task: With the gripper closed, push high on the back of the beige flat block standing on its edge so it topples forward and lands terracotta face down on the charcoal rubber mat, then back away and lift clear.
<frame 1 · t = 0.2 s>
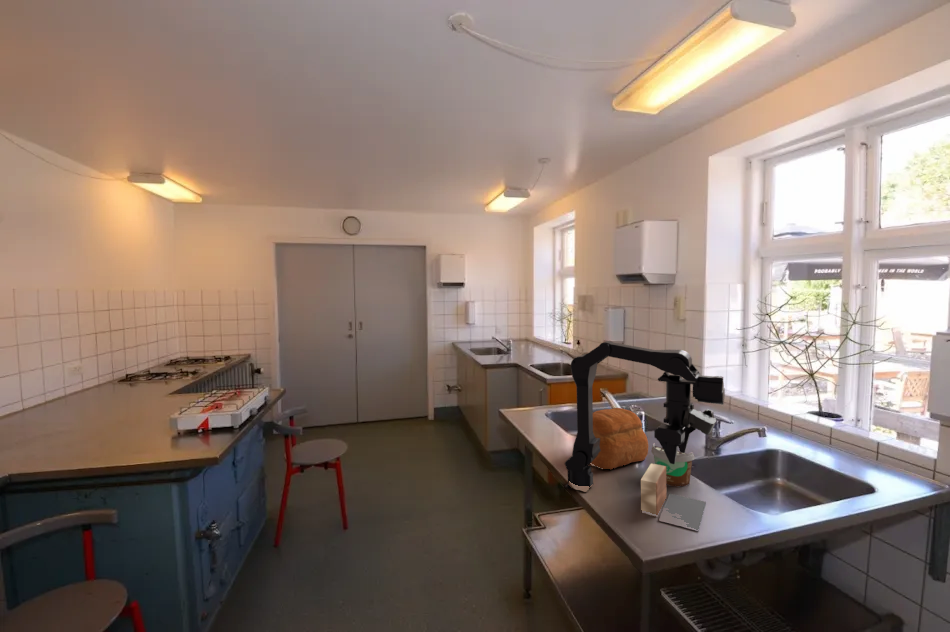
hand: (677, 457, 109), 14 cm above the counter, tool pointing down, fingers open, 9 cm apart
bread: (611, 459, 144), on the counter
beige flat block: (654, 505, 113), on the counter
food container: (669, 483, 126), on the counter
rubber mat: (682, 511, 109), on the counter
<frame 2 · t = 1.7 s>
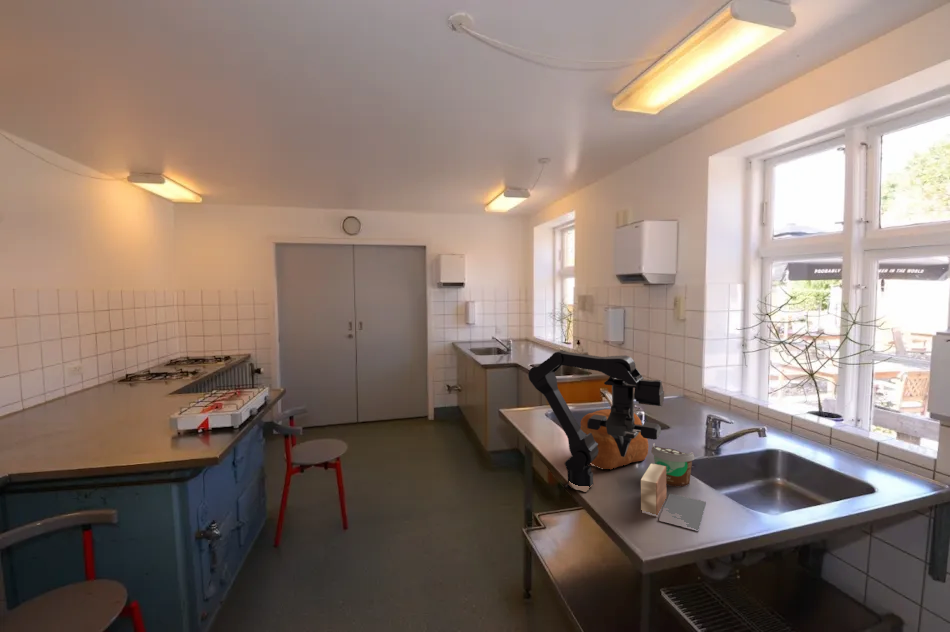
hand: (623, 456, 117), 12 cm above the counter, tool pointing down, fingers closed
nothing on the counter moved.
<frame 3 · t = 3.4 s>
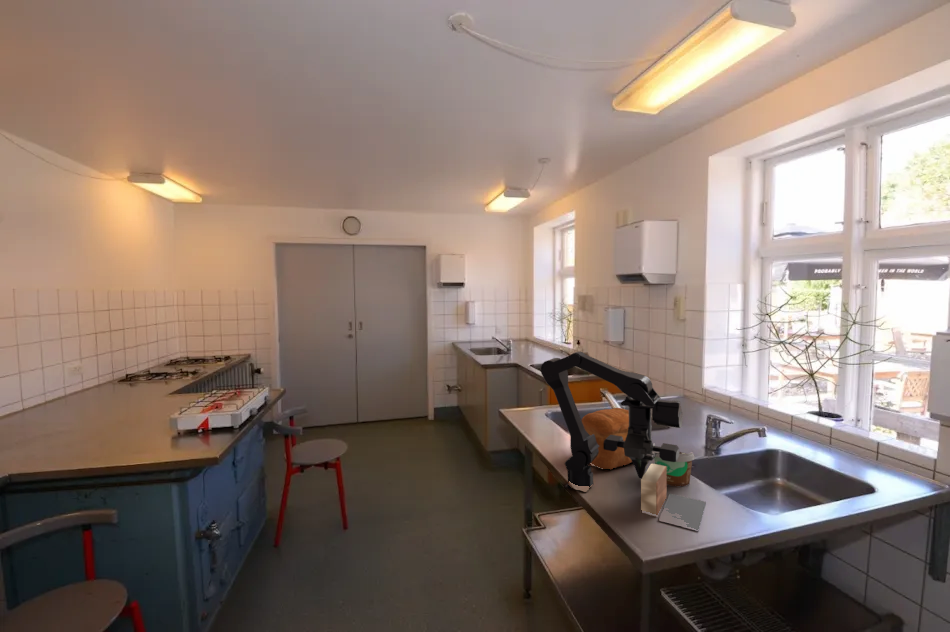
hand: (640, 478, 115), 7 cm above the counter, tool pointing down, fingers closed
beige flat block: (654, 505, 113), on the counter, touching gripper
everything else where it was.
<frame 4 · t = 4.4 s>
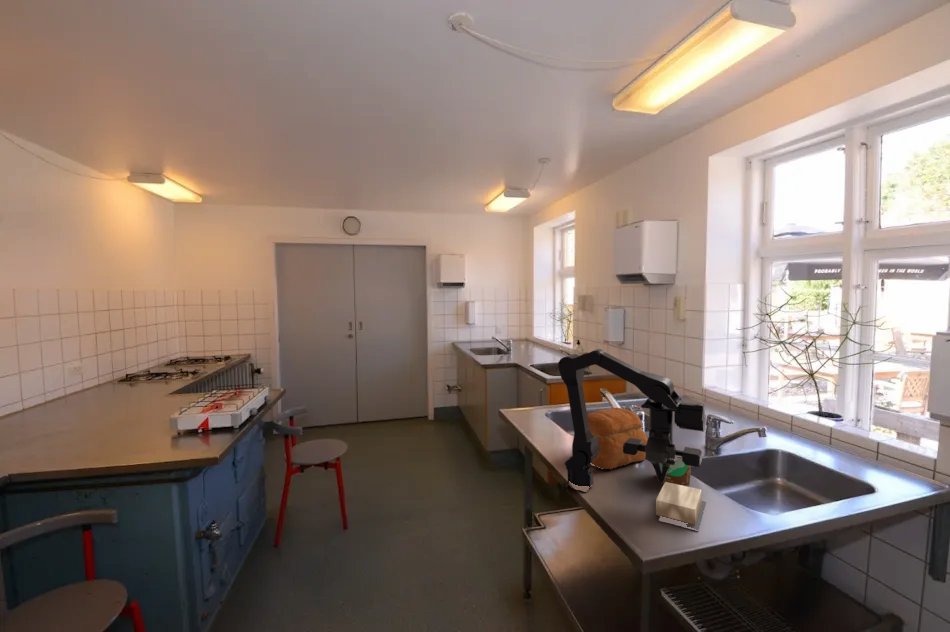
hand: (661, 482, 112), 7 cm above the counter, tool pointing down, fingers closed
beige flat block: (660, 497, 112), point 2 cm above the counter, tilted 90°, touching rubber mat
everything else where it was.
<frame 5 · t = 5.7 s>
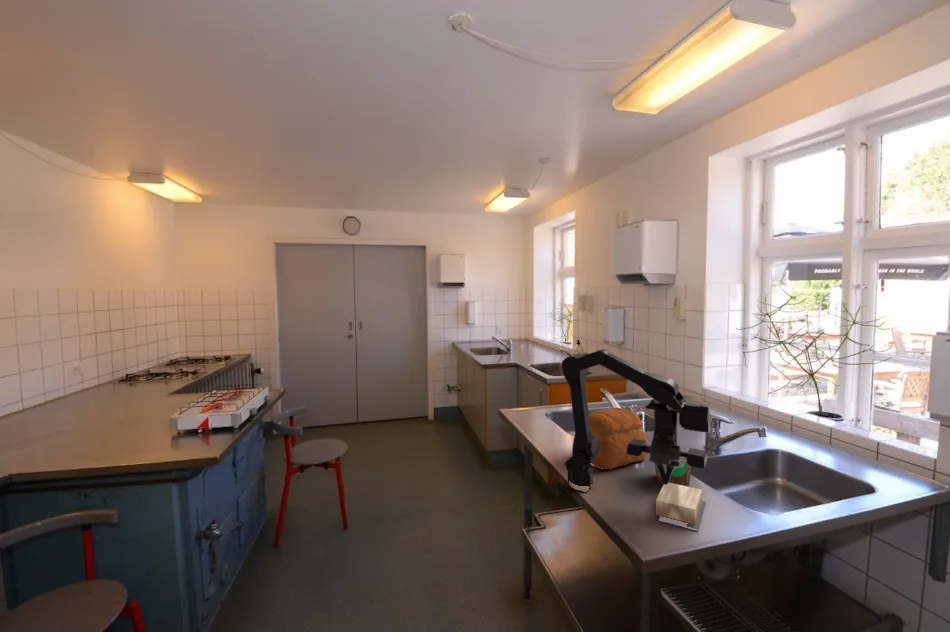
hand: (665, 484, 111), 6 cm above the counter, tool pointing down, fingers closed
nothing on the counter moved.
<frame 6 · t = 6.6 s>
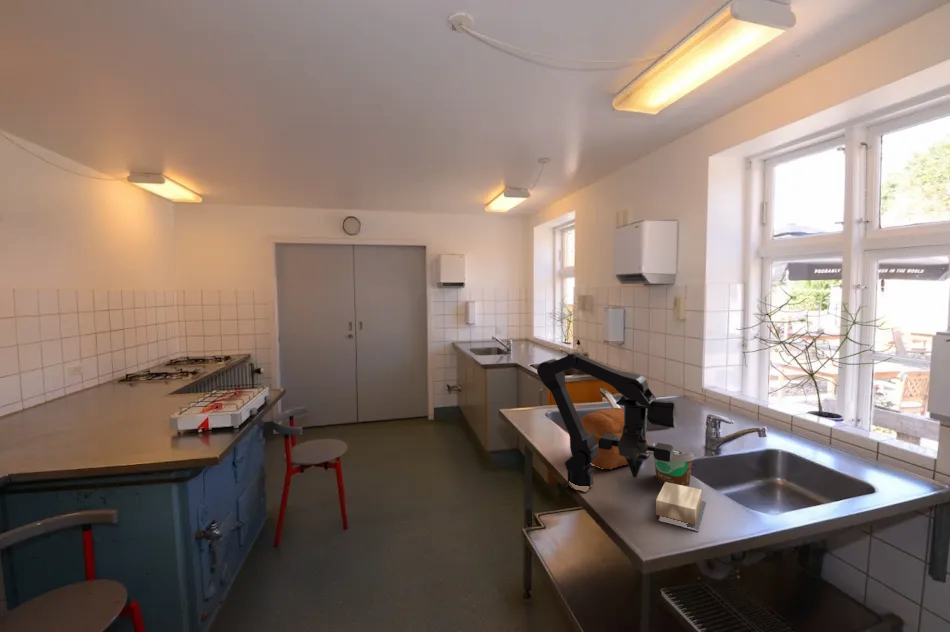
hand: (635, 476, 116), 7 cm above the counter, tool pointing down, fingers closed
nothing on the counter moved.
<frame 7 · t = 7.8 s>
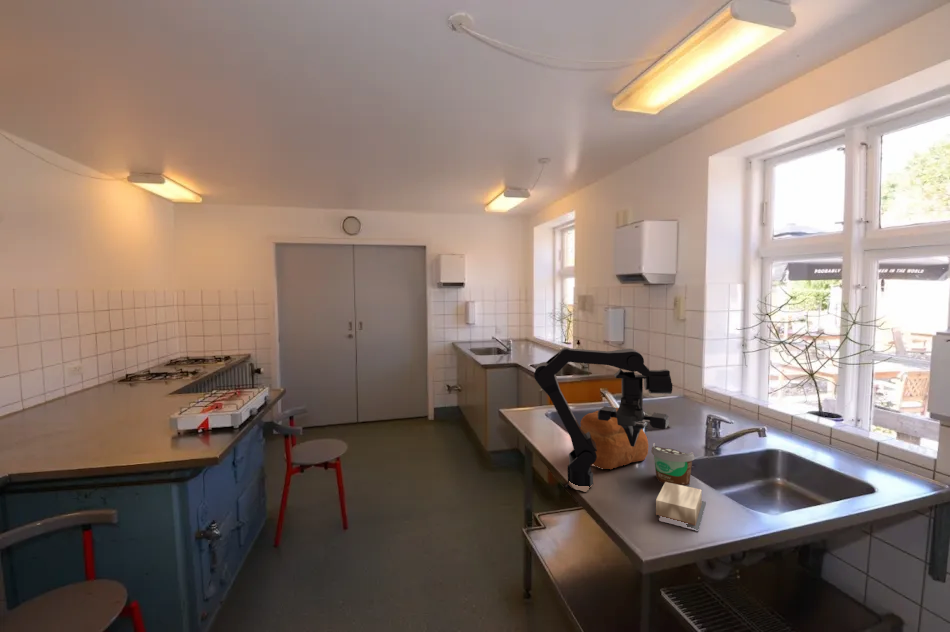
hand: (632, 446, 121), 13 cm above the counter, tool pointing down, fingers closed
nothing on the counter moved.
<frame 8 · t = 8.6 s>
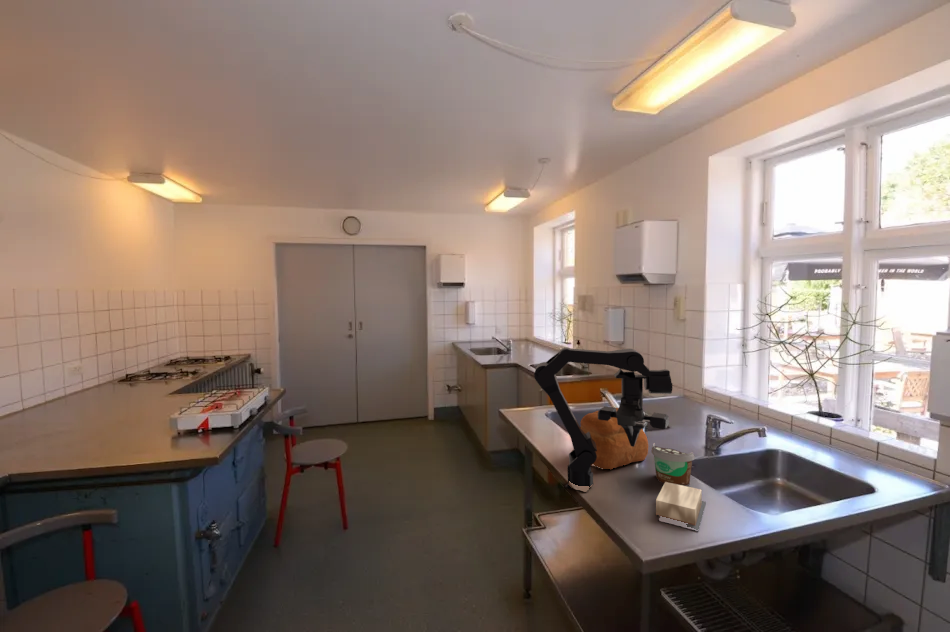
hand: (632, 446, 121), 13 cm above the counter, tool pointing down, fingers closed
nothing on the counter moved.
at the end: beige flat block tilted 90°; beige flat block inside the target area (3.8 cm from its centre), point 2.4 cm above the counter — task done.
